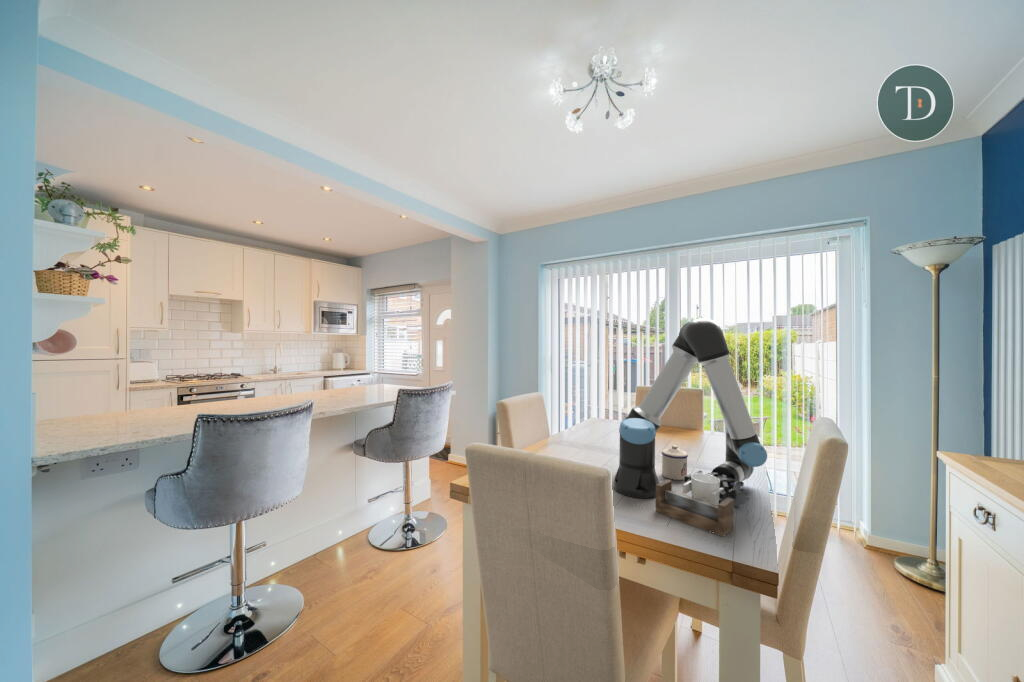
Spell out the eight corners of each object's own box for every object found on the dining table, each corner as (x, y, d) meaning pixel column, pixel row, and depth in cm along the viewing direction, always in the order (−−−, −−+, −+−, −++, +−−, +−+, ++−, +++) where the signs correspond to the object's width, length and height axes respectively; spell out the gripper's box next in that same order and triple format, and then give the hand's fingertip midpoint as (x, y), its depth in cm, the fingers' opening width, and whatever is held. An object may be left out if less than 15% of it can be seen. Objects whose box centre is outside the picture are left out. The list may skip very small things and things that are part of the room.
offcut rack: (655, 511, 113) (655, 484, 113) (666, 504, 118) (667, 479, 118) (723, 536, 99) (724, 506, 99) (733, 528, 103) (733, 499, 103)
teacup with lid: (686, 482, 136) (687, 450, 136) (660, 477, 140) (660, 447, 140) (688, 472, 147) (688, 442, 147) (663, 468, 151) (664, 439, 151)
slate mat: (699, 495, 125) (699, 493, 125) (711, 487, 132) (711, 485, 132) (739, 507, 116) (739, 505, 116) (749, 498, 123) (749, 497, 123)
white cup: (707, 518, 109) (707, 484, 108) (684, 507, 116) (685, 475, 116) (725, 514, 112) (726, 480, 112) (702, 503, 119) (703, 471, 119)
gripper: (762, 496, 118) (736, 519, 103) (695, 477, 133) (664, 495, 118) (763, 473, 118) (737, 491, 103) (696, 456, 133) (665, 471, 118)
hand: (698, 493), depth 110 cm, fingers closed on white cup, 8 cm apart
